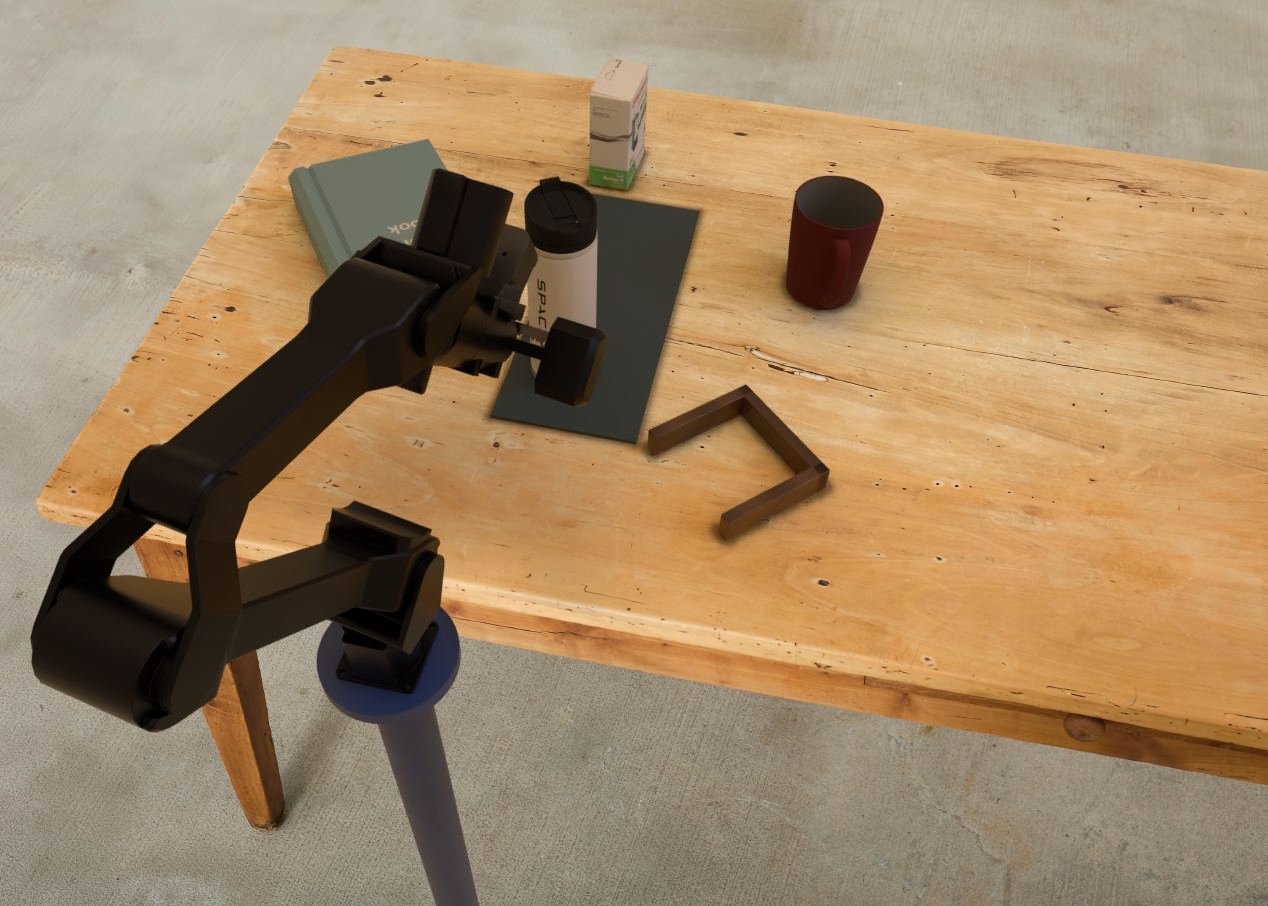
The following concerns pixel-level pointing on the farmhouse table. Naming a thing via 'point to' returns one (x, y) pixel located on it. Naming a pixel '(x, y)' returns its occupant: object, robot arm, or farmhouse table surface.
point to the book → (363, 198)
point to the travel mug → (561, 255)
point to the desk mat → (616, 322)
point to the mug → (830, 239)
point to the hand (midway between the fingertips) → (522, 342)
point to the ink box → (617, 123)
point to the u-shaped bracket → (772, 430)
